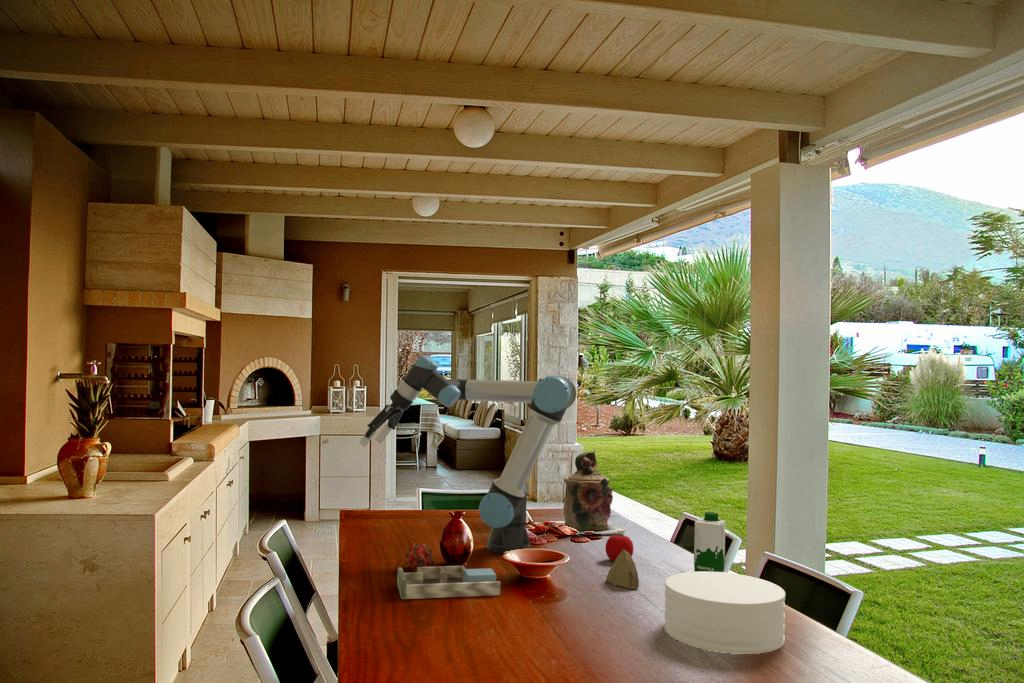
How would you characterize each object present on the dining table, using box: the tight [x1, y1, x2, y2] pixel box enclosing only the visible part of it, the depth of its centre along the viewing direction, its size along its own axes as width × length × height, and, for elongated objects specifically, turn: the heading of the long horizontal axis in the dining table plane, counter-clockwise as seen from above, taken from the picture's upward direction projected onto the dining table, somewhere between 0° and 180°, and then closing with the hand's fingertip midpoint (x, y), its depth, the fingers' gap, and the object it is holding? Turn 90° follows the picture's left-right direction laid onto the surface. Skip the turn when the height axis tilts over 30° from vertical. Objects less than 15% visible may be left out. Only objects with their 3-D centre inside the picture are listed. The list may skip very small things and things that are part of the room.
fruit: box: [605, 531, 634, 562], centre depth 253 cm, size 9×9×10 cm
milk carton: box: [693, 511, 726, 572], centre depth 232 cm, size 9×9×20 cm
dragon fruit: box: [405, 542, 435, 572], centre depth 235 cm, size 8×8×12 cm
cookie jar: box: [549, 449, 627, 536], centre depth 303 cm, size 25×25×32 cm
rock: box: [604, 549, 640, 590], centre depth 223 cm, size 11×9×10 cm
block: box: [464, 567, 497, 582], centre depth 215 cm, size 8×7×5 cm
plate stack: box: [664, 571, 786, 654], centre depth 184 cm, size 28×28×12 cm
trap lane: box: [396, 565, 501, 600], centre depth 216 cm, size 27×19×5 cm
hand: (370, 442), depth 266 cm, fingers open, 13 cm apart
